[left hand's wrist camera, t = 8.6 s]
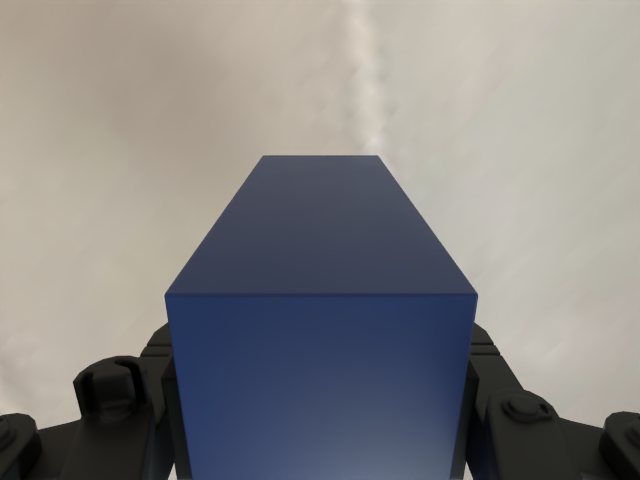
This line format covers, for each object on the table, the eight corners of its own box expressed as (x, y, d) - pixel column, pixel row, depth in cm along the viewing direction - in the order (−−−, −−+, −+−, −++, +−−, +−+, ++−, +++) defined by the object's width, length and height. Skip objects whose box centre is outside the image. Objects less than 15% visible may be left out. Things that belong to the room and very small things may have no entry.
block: (262, 155, 17) (162, 294, 6) (378, 155, 17) (479, 294, 6) (270, 314, 20) (209, 606, 9) (370, 314, 20) (432, 606, 9)
